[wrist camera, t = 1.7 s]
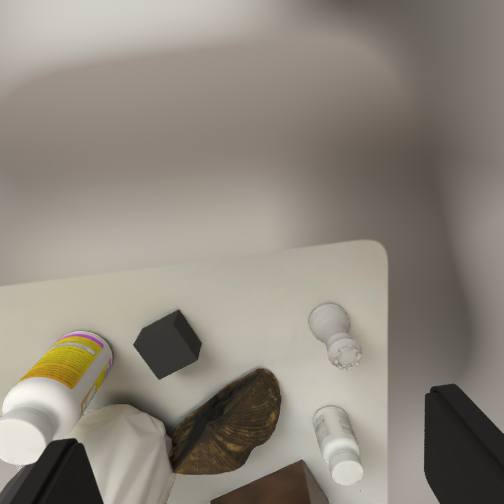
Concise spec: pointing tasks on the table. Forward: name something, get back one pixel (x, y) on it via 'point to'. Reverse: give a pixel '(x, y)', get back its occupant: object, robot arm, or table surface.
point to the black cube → (168, 345)
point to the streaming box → (15, 484)
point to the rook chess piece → (335, 335)
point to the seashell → (227, 426)
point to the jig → (279, 489)
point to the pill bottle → (338, 445)
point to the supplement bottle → (52, 396)
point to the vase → (127, 454)
